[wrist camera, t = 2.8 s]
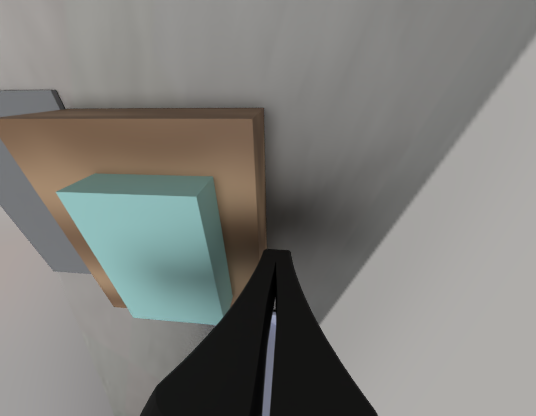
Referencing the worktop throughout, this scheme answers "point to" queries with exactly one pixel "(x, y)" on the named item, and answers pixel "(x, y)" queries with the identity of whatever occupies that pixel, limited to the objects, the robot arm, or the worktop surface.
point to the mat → (24, 195)
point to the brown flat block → (151, 166)
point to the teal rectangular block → (156, 242)
